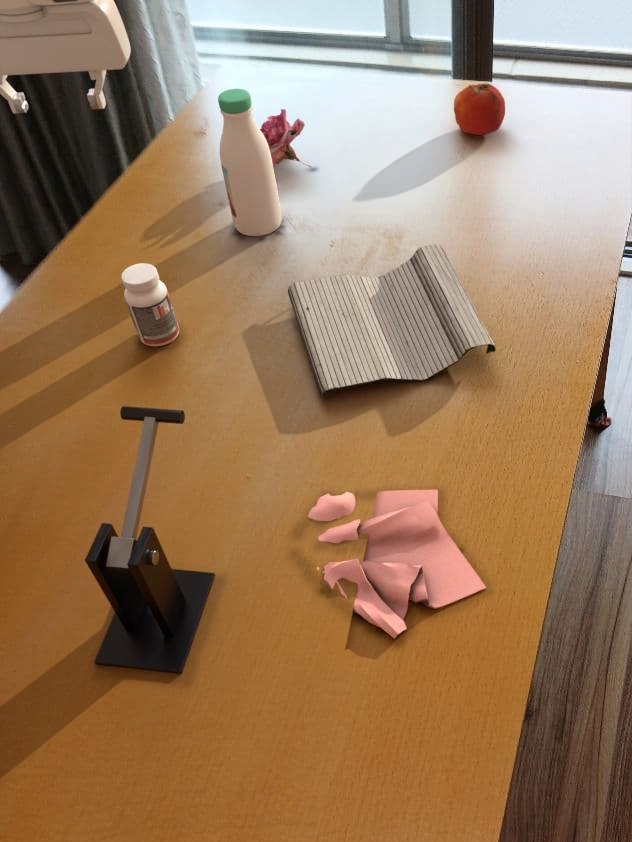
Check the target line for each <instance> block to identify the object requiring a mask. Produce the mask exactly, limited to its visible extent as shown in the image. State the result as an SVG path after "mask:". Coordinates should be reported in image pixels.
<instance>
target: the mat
mask: <svg viewBox="0 0 632 842" xmlns="http://www.w3.org/2000/svg"><path fill="white" fill-rule="evenodd" d="M287 294H288V297H289V300H290V304H291V307H292V310H293V312H294V316H295V319H296V323H297V325H298V329H299V332H300V335H301V338H302V342H303V345H304V348H305V351H306V354H307V357H308V360H309V364H310V366H311V369H312V373H313V377H314V379H315V384H316V386H317V389H318V391H319V395H320V397H321V398H323V397H324V396H326V393H329V392H333V391H337V390H342V389H347V388H354V387H356V386H361V385H368V384H372V383H377V382H384V381H400V380H401V381H413V382H414V381H415V382H419V381H426V380H428V379H430V378H433V377H435V376H436V375H438V374H440V373H442V372H443V371H445V370H447V369H449V368H450V367H452V366H454V365H456V364H457V363H458V362H459V361H461V359H462V358H463V357H464V356H465V355H466V354H467V353H468V352H469V351H470V350H473V349H476V348H477V347H482V346H487V348H486V351H485V355H488V354H490V353H495V352H496V351H497V349H496V345H495V343H494V341H493V339H492V338H491V336H490V334H489V332H488V329H487V328H486V326H485V324H484V323H483V320H482V319H481V317H480V314H479V312H478V311H477V309H476V308H475V306H474V303H473V302H472V300H471V297H470V296H469V294H468V292H467V290H466V289H465V287H464V284H463V283H462V281H461V279H460V277H459V276H458V273H457V272H456V270H455V267H454V266H453V264H452V261H451V260H450V258H449V256H448V254H447V252H446V250H445V248H444V246H443V245H441V244H437V243H435V244H427V245H424V246H420V247H418V248H417V249H416V250H415V251H414V253H413V255H412V256H411V257H410V258H409V259H408V260H407V261H405V262H404V263H402V264H400V265H399V266H398V267H396V268H394V269H391V270H389V271H388V272H387V273H385V274H383V275H381V276H378V277H374V276H373V277H372V276H364V275H353V274H340V275H333V276H328V277H321V278H315V279H308V280H303V281H297V282H292V284H290V285H289V286H288V287H287Z"/></svg>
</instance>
